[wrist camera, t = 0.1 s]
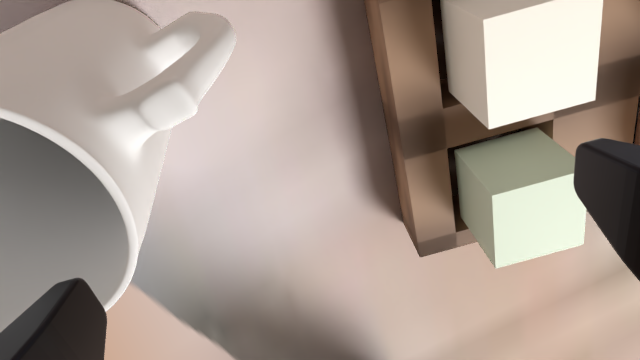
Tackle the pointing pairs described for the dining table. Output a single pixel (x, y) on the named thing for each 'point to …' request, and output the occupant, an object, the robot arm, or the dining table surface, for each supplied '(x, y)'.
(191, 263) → the dining table surface
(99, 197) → the mug
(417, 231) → the brown shallow tray
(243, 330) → the dining table surface
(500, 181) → the key sage
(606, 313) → the dining table surface
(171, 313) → the dining table surface
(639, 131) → the key terracotta
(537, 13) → the cream white cube
